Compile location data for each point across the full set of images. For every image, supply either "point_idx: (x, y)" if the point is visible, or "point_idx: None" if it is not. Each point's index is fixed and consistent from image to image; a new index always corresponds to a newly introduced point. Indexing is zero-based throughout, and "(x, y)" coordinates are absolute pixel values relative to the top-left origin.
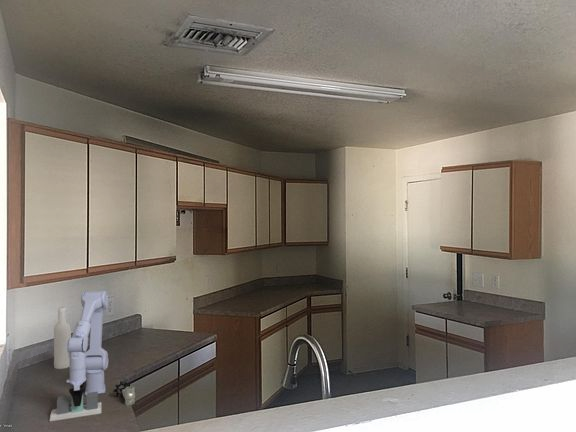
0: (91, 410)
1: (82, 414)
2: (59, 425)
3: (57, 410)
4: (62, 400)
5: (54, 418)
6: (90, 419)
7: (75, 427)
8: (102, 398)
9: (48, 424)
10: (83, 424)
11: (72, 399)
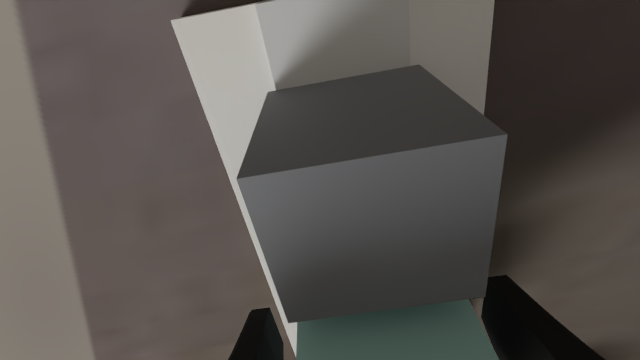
0: None
1: (271, 286)
2: (92, 152)
3: (262, 114)
4: (274, 257)
5: (194, 77)
6: (212, 323)
7: (75, 271)
8: (566, 323)
9: (100, 26)
10: (131, 303)
11: (299, 354)
